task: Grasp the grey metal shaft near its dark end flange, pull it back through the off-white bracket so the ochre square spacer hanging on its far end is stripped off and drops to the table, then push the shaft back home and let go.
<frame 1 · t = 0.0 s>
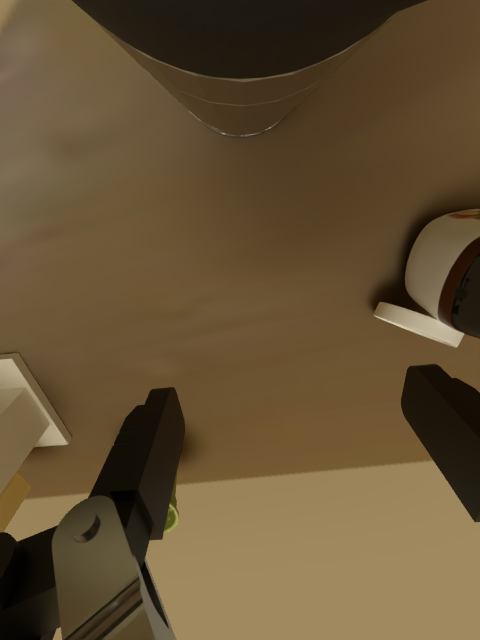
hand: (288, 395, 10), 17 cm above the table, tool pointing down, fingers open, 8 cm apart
plant pot: (156, 444, 38), on the table
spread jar: (432, 271, 26), on the table
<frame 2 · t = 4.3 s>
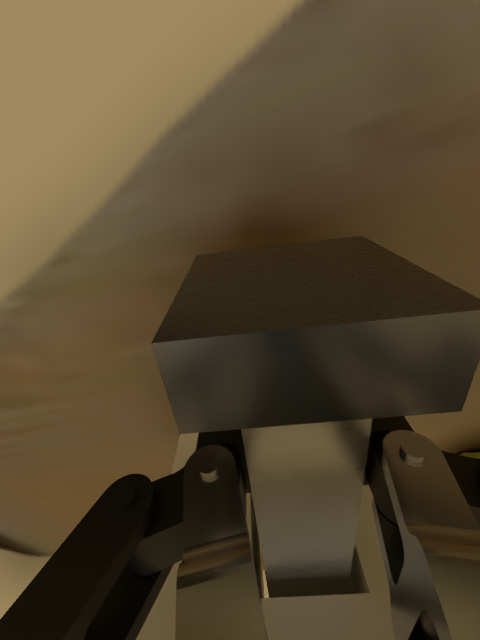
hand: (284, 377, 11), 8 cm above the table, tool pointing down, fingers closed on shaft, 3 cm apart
shaft: (300, 542, 12), point 10 cm above the table, slide at 0.0 cm, touching gripper, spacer
bracket: (276, 404, 22), on the table
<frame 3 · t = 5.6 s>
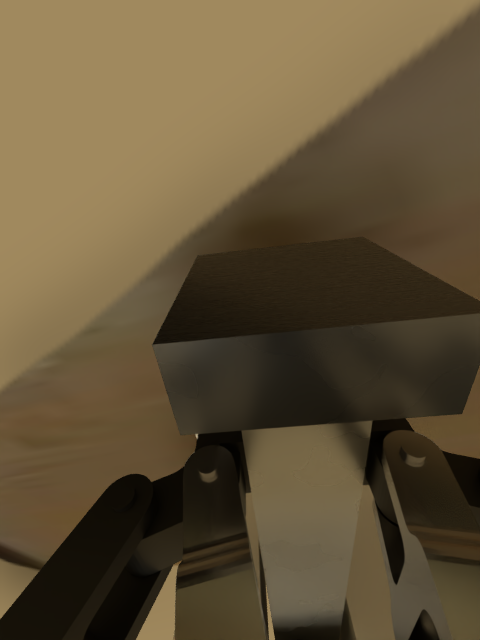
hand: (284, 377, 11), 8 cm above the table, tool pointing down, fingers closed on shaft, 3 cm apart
shaft: (299, 542, 12), point 10 cm above the table, slide at 4.9 cm, touching gripper
bracket: (279, 446, 24), on the table
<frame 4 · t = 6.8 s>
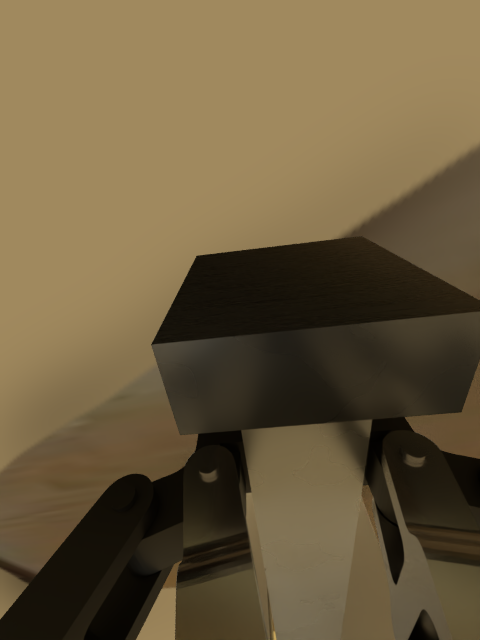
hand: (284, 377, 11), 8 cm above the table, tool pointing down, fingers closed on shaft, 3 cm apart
shaft: (300, 542, 12), point 10 cm above the table, slide at 10.8 cm, touching gripper
bracket: (283, 487, 27), on the table
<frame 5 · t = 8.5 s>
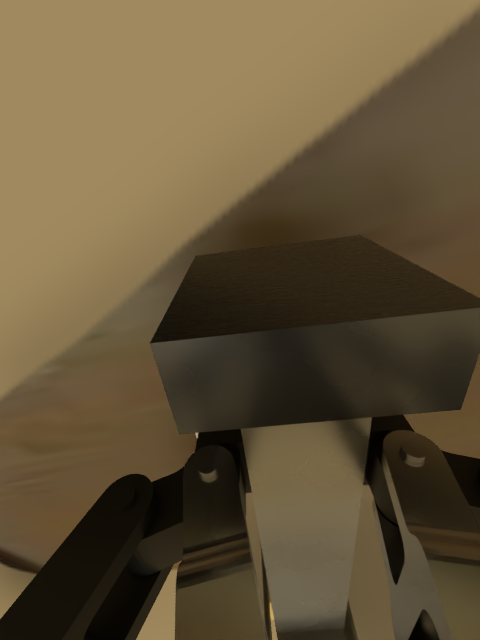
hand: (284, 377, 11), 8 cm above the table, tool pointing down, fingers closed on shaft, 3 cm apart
shaft: (301, 542, 12), point 10 cm above the table, slide at 5.2 cm, touching gripper
bracket: (280, 449, 24), on the table
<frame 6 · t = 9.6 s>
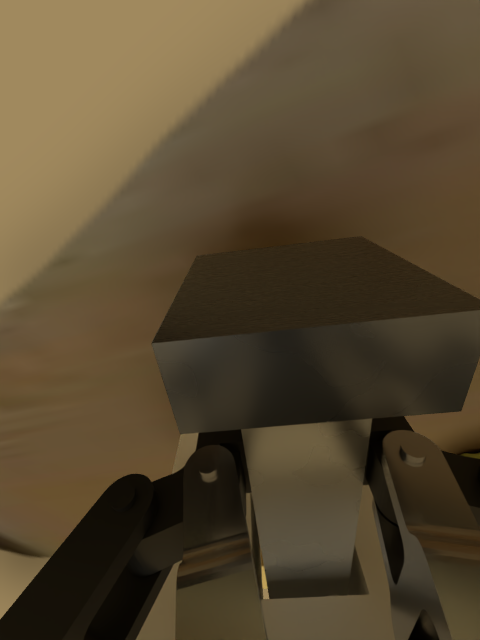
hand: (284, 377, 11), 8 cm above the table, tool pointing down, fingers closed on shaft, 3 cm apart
shaft: (300, 542, 12), point 10 cm above the table, slide at 0.1 cm, touching gripper
bracket: (276, 405, 22), on the table
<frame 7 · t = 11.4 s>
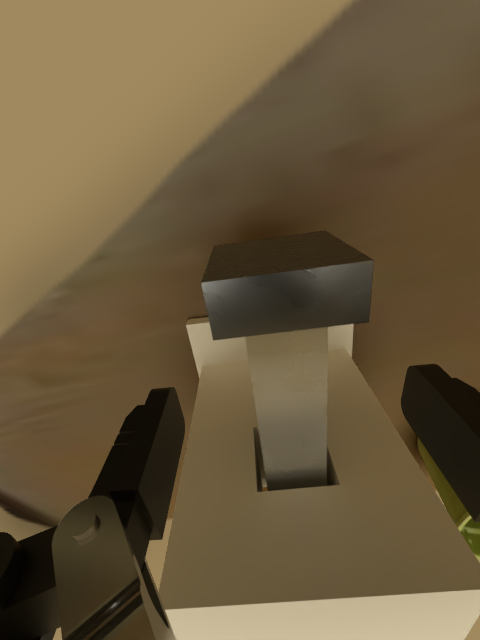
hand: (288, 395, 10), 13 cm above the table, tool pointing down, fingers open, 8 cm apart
plant pot: (443, 434, 29), on the table
shaft: (292, 463, 16), point 10 cm above the table, slide at 0.0 cm
bracket: (274, 378, 26), on the table
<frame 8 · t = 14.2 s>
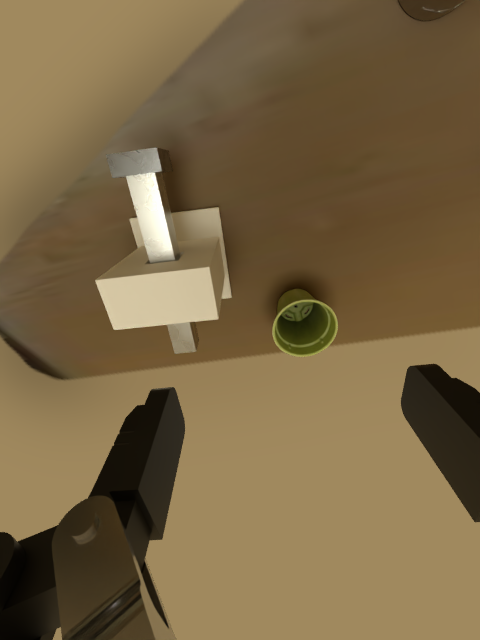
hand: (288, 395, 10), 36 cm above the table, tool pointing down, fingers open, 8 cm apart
plant pot: (294, 304, 48), on the table
shaft: (167, 265, 34), point 10 cm above the table, slide at 0.0 cm
bracket: (185, 259, 44), on the table
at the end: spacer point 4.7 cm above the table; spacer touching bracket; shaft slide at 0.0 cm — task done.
